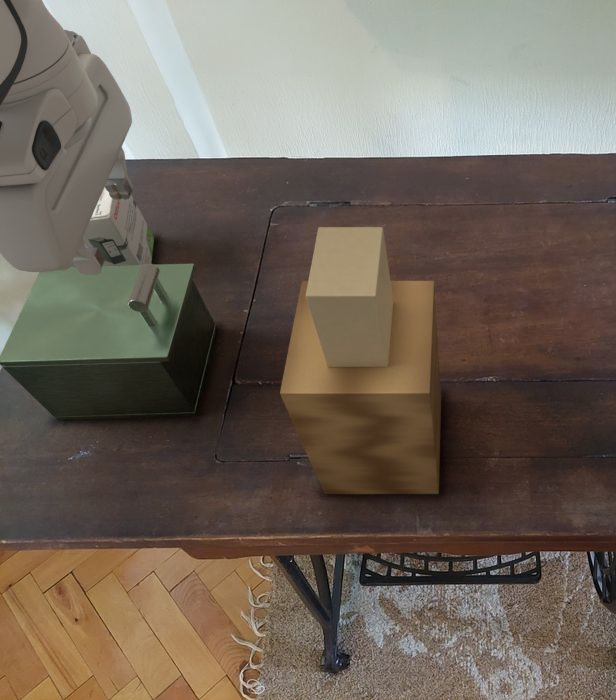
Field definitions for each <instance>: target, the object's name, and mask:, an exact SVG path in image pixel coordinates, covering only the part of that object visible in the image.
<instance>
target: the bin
mask: <svg viewBox="0 0 616 700" xmlns="http://www.w3.org/2000/svg"><path fill="white" fill-rule="evenodd" d="M217 333H218V326H217V324H216V323H215V320H214V319H213V317H212V315H211V313H210V311H209V309H208V307H207V305H206V303H205V301H204V299H203V297H202V295H201V294H200V292H199V289H198V287H197V286H196V284H195V281H194V279H193V280H192V284H191V288H190V291H189V295H188V298H187V302H186V305H185V309H184V313H183V316H182V320H181V323H180V327H179V330H178V334H177V338H176V341H175V345H174V348H173V352H172V355H171V359H170V361H156V362H123V363H90V364H57V365H23V366H1V367H2V369H4V370H5V371H6V372H7V373H8V374H9V375H10V376H11V377H12V378H13V379H14V380H15V381H16V382H17V383H18V384H19V385H20V386H21V387H22V388H23V389H24V390H26V391H27V393H28V394H30V395H31V396H32V397H33V399H35V400H36V401H37V402H38V403H39V404H40V405H41V406H42V407H43V408H44V409H45V410H46V411H47V412H48V413H49V414H51V416H52V417H53V418H54V419H56V421H85V420H114V419H115V420H116V419H147V418H149V419H151V418H175V417H177V418H178V417H181V418H182V417H197V416H198V412H199V407H200V405H201V399H202V396H203V391H204V387H205V383H206V379H207V375H208V371H209V366H210V362H211V357H212V353H213V349H214V344H215V340H216V336H217Z"/></svg>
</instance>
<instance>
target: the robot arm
mask: <svg viewBox="0 0 616 700" xmlns="http://www.w3.org/2000/svg"><path fill="white" fill-rule="evenodd" d="M132 123H133V117H132V111H131V107H130V104H129V102H128V101H127V98H126V95H125V94H124V92H123V91H122V89H121V88H120V85H119V84H118V82H117V80H116V79H115V77H114V76H113V74H112V72H111V71H110V70H109V68H108V66H107V64H106V63H105V62H104V60H102V59H101V58H100V56H98V55H97V54H95V53H92V52H91V49H90V48H89V46H88V44H87V42H86V40H85V38H84V37H83V36H82V35H81V34H78V33H77V32H75V31H73V30H68V29H64V28H63V26H62V25H61V24H60V22H59V21H57V19H56V18H55V17H54V16H53V15H52V13H51V12H50V11H49V9H48V8H47V6H46V5H45V3H44V1H43V0H0V255H1V256H2V257H3V258H4V259H5V261H6V262H7V263H8V264H9V265H10V266H11V267H13V268H14V269H17V270H19V271H23V272H27V273H39V272H54V271H64V270H67V269H68V268H69V267H72V264H73V265H74V267H76V268H77V269H78V271H79V272H81V273H82V274H85V275H89V274H99V273H100V272H101V269H102V266H103V263H104V261H105V258H104V257H103V256H102V255H101V252H100V251H99V249H98V248H88V249H86V247H85V246H84V245H85V241H84V240H83V235H84V233H85V231H86V228H87V226H88V224H89V222H90V219H91V217H92V215H93V212H94V210H95V208H96V205H97V203H98V201H99V198H100V196H101V194H102V191H103V189H104V187H105V188H106V190H107V191H108V192H109V195H110V197H111V198H113V199H115V200H120V199H124V200H127V199H129V197H130V195H132V192H133V190H134V184H133V183H132V181H131V178H130V177H129V175H128V174H129V173H128V168H127V162H126V155H125V151H124V149H123V145H124V142H125V140H126V138H127V136H128V133H129V131H130V128H131V126H132Z"/></svg>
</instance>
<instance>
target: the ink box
mask: <svg viewBox="0 0 616 700" xmlns="http://www.w3.org/2000/svg"><path fill="white" fill-rule="evenodd" d="M83 240H84V241H85V245H84V248H85V249H88V248H98V249H99V251H100V252H101V255H102V256H103V257H104V258H105V261H104V263H103V266H124V265H142V264H144V263H151V264H152V261H153V253H154V245H155V236H154V234H153V233H152V231H151V229H150V227H149V225H148V223H147V221H146V219H145V217H144V215H143V213H142V212H141V210H140V208H139V206H138V205H137V202H136V201H135V199H134V197H133V195H132V194H131V195H130V197H129V199H127V200H124V199H120V200H115V199H113V198H111V197H110V195H109V192H108V191H107V190H106V188H105V187H104V189H103V191H102V194H101V196H100V198H99V201H98V203H97V205H96V208H95V210H94V212H93V215H92V217H91V219H90V222H89V224H88V226H87V228H86V231H85V233H84V235H83Z"/></svg>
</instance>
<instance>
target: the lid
mask: <svg viewBox="0 0 616 700" xmlns="http://www.w3.org/2000/svg"><path fill="white" fill-rule="evenodd" d="M196 270H197V269H196V265H195V263H164V264H163V263H161V264H154V263H152V262H151V263H144V264H142V265H124V266H102V269H101V272H100V273H99V274H89V275H85V274H82V273H81V272H79V271H78V269H77V268H76V266H70V267H69V268H68V269H67V270H64V271H54V272H38V274H37V276H36V278H35V280H34V282H33V285H32V288H31V289H30V291H29V293H28V295H27V297H26V300H25V302H24V304H23V306H22V308H21V310H20V313H19V314H18V317H17V319H16V321H15V323H14V325H13V327H12V330H11V332H10V334H9V336H8V339H7V340H6V342H5V344H4V346H3V349H2V351H1V352H0V367H2V366H23V365H57V364H90V363H123V362H156V361H170V359H171V355H172V352H173V348H174V345H175V341H176V338H177V334H178V330H179V327H180V323H181V320H182V316H183V313H184V309H185V305H186V302H187V298H188V295H189V291H190V288H191V284H192V280H193V281H194V277H195V273H196Z"/></svg>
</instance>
